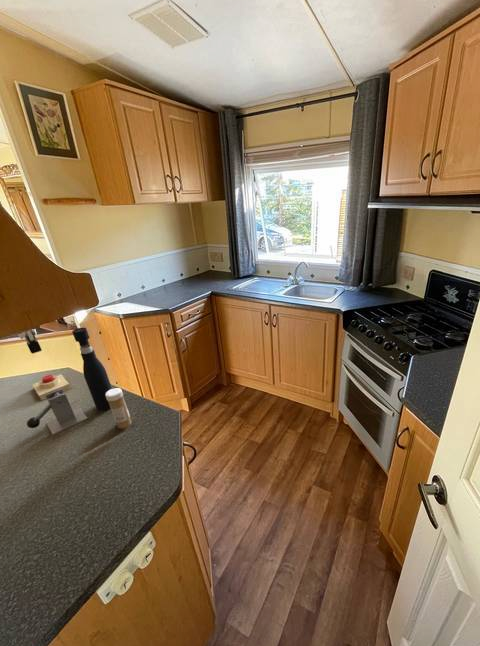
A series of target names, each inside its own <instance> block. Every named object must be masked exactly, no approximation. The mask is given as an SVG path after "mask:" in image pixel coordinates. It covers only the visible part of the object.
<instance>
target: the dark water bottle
mask: <svg viewBox="0 0 480 646" xmlns="http://www.w3.org/2000/svg"><path fill="white" fill-rule="evenodd" d="M71 333H72V335H73V338H74V340H75V342H76V343H78V345H79V346H80V347H79V351H80V356H81V359H82V361H83V363H82V364H83V365H82V371H83V377H84V380H85V382H86V385H87V388H88V390H89V394H90V395H91V398H92V400H93V401H92V402H93V403H94V405H95V408H96V410H97V412H106V411H109V410H111V409H110V405H109V402H108V400H107V399H106V396H105V394H106V392H107V391H109V390H111V389H113V388H112V384H111V381H110V378H109V376H108V373H107V370H106V368H105V365H103V363H102V362H101V360H100V359H98V357H97V355H96V352H95V350H94V349H93V347H92V345H91V344H90V342H89V339H90V335H89V332H88V329H87V328H86V327H78V328H75V329H73V330H72V332H71Z"/></svg>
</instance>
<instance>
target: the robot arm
mask: <svg viewBox="0 0 480 646" xmlns="http://www.w3.org/2000/svg"><path fill="white" fill-rule="evenodd" d="M36 335H38V333H37V330H36V328H35V329H32V330H29V331H27V332H23V333H21V334H18V335H17V336H18V337H19V339H21V340H23V339H24V340H25V342H26V345H27V347H28V349H29V351H30V353H31V354H36V353H39V352H40V353H41V352H42V350H43V349H42V347H41V345H40V343H39V341H38V339H37V337H36Z"/></svg>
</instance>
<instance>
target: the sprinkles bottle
mask: <svg viewBox="0 0 480 646" xmlns="http://www.w3.org/2000/svg"><path fill="white" fill-rule="evenodd" d="M105 396H106V399H107V400H108V402H109V405H110V409H109V410H110V411H111V414H112V416H113V419H114V422H115V424H116V427H117V428H118V429H126V428H128V427H130V426H131V425H132V422H133V421H132V418H131V414H130V413H129V412H130V411H129V408H128V406H127V403H126V401H125V397H124V392H123V390H122V389H121V388H120V387H114V388H112V389H111V390H109V391H107V392H106V394H105Z"/></svg>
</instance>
